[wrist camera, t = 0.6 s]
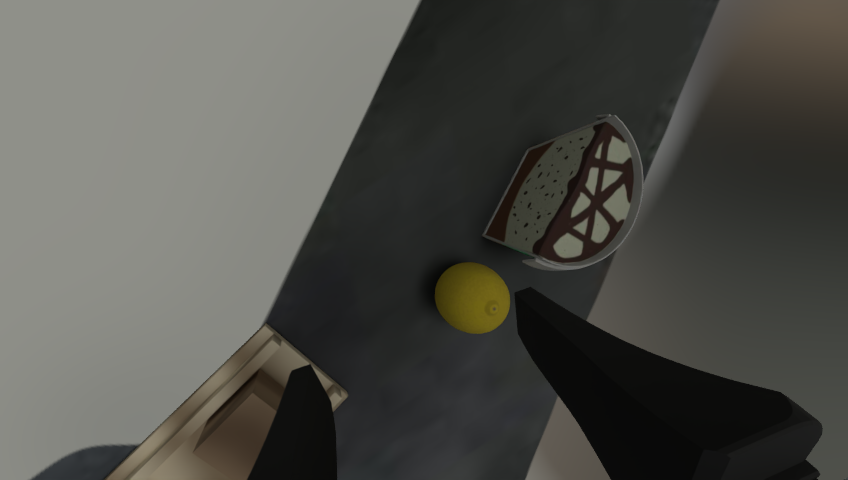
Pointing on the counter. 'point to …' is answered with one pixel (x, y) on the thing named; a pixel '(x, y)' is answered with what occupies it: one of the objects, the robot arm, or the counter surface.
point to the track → (178, 435)
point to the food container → (572, 197)
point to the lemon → (472, 297)
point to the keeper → (240, 427)
